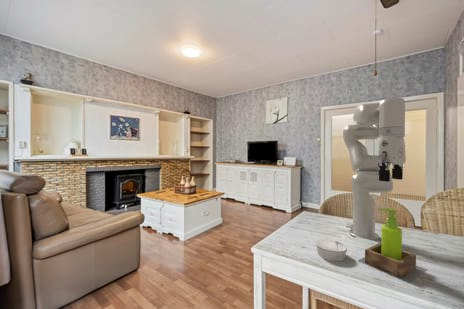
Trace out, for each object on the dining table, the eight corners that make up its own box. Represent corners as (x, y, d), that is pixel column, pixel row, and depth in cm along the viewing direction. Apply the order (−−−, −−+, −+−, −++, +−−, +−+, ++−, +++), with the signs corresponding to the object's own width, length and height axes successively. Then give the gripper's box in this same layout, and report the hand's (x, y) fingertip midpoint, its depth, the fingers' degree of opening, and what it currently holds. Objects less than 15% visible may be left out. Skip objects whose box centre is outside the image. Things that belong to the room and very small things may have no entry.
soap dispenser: (379, 257, 81) (380, 205, 81) (402, 263, 76) (403, 209, 76) (376, 262, 77) (376, 208, 77) (400, 270, 72) (400, 212, 72)
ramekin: (353, 263, 81) (353, 249, 80) (327, 266, 78) (327, 252, 78) (333, 249, 92) (333, 237, 91) (310, 252, 89) (310, 240, 89)
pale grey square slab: (357, 263, 80) (357, 260, 80) (377, 253, 88) (377, 251, 88) (409, 286, 67) (409, 283, 67) (427, 272, 74) (427, 269, 74)
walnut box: (364, 262, 79) (365, 249, 79) (380, 255, 85) (380, 242, 84) (401, 278, 69) (401, 263, 69) (415, 268, 75) (416, 254, 75)
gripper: (392, 131, 69) (391, 183, 69) (414, 133, 77) (413, 179, 78) (367, 132, 75) (367, 180, 75) (390, 134, 84) (390, 177, 84)
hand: (390, 180), depth 77 cm, fingers open, 9 cm apart
